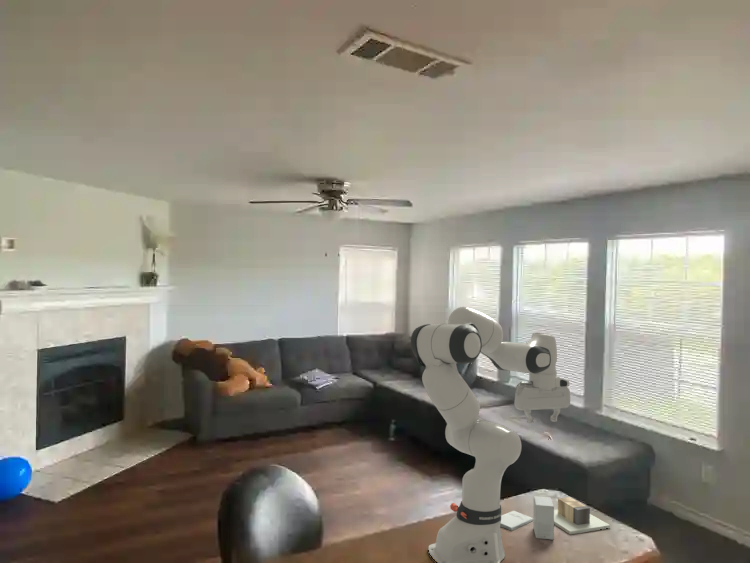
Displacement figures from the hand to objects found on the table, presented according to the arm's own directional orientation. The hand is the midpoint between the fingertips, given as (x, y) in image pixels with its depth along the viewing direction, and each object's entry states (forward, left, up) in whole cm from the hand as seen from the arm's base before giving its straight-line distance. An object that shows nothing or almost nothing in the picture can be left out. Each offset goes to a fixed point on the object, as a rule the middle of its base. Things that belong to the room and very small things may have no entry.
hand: (542, 422), depth 181 cm
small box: (-4, -7, -34) cm, 35 cm away
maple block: (+12, +3, -30) cm, 33 cm away
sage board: (+12, -2, -34) cm, 36 cm away
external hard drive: (-8, +4, -35) cm, 36 cm away
